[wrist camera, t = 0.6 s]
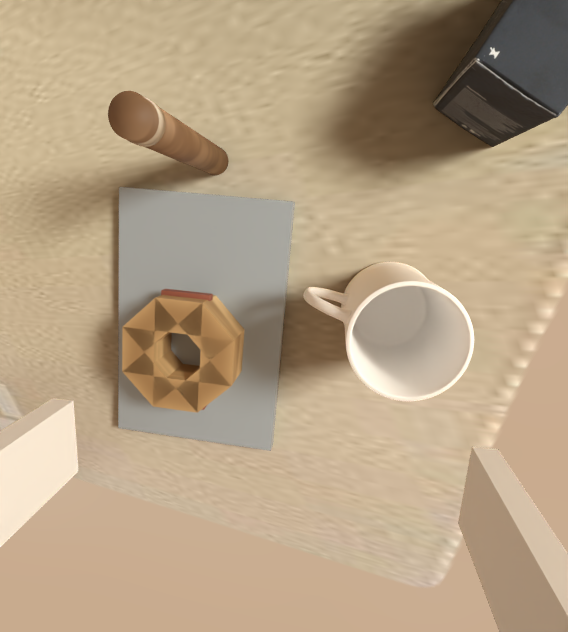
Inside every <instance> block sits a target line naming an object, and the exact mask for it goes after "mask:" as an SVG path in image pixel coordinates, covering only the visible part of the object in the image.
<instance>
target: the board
mask: <svg viewBox="0 0 568 632" xmlns="http://www.w3.org/2000/svg"><path fill="white" fill-rule="evenodd" d="M294 205H295V202H292V201H280V200H268V199H257V198H245V197H233V196H222V195H210V194H198V193H186V192H175V191H163V190H151V189H139V188H128V187H119V375H118V428H121V429H128V430H135V431H141V432H148V433H155V434H161V435H168V436H175V437H182V438H188V439H195V440H202V441H208V442H215V443H222V444H228V445H235V446H242V447H249V448H255V449H262V450H269V451H271V449H272V445H273V436H274V425H275V414H276V403H277V392H278V381H279V370H280V359H281V348H282V337H283V326H284V315H285V304H286V293H287V282H288V271H289V260H290V249H291V238H292V227H293V216H294ZM163 289H174V290H183V291H192V292H201V293H210V294H213V295H216V296H217V297H218V298H219V300H220V301H221V302H222V303H223V304H224V306H225V307H226V308H227V309H228V310H229V311H230V313H231V314H232V315H233V316H234V317H235V319H236V320H237V321H238V322H239V323H240V325H241V326H242V327H243V328H244V329H245V331H244V345H243V359H242V371H241V373H240V374H239V376H238V377H237V379H236V380H235V382H234V383H233V385H232V386H231V387H230V388H229V389H227V390H226V391H225V392H223V393H222V394H221V395H219V396H218V397H217V398H216V399H214V400H213V401H212V402H210V403H209V404H208V405H207V406H206V408H205V409H204V410H200V411H199V412H198V413H196V412H189V411H181V410H174V409H167V408H160V407H153V406H152V405H151V404H150V403H149V401H148V400H147V399H146V398H145V397H144V396H143V395H142V393H141V392H140V391H139V390H138V389H137V388H136V387H135V386H134V384H133V383H132V382H131V381H130V380H129V379H128V378H127V376H126V375H125V374H124V373H123V372H122V328H123V326H124V325H125V324H126V323H127V322H129V321H130V320H131V319H132V318H133V317H134V316H135V315H136V314H137V313H139V312H140V311H141V310H142V309H143V308H144V307H145V306H146V305H148V304H149V303H150V302H151V301H152V300H153V299H154V298H156V297H158V296H161V290H163ZM171 350H172V352H173V353H174V354H175V355H176V356H177V357H178V359H179V360H180V361H181V362H182V363H183V364H189V365H197V366H200V352H201V350H200V349H199V347H198V346H197V345H196V344H195V343H194V342H193V340H192V339H191V338H190V337H189V336H188V335H187V334H179V333H172V339H171Z"/></svg>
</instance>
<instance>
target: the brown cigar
mask: <svg viewBox="0 0 568 632" xmlns="http://www.w3.org/2000/svg"><path fill="white" fill-rule="evenodd" d="M108 118H109V122H110V125H111V127H112V129H113V130H114V132H115V133H116V134H117V135H119V136H120V137H122V138H124V139H127V140H128V141H130V142H132V143H134V144H137V145H139V146H143V147H146V148H149V149H151V150H154V151H156V152H158V153H161V154H163V155H166V156H168V157H171V158H173V159H176V160H178V161H180V162H183V163H185V164H188V165H190V166H193V167H195V168H197V169H200V170H202V171H205V172H207V173H210V174H212V175H219V174H221V173H223V172H224V171H225V170H226V168H227V166H228V156H227V154H226V152H225V151H224V150H223V149H221V148H220V147H218V146H217V145H215V144H214V143H212V142H211V141H209V140H208V139H206V138H205V137H203V136H202V135H200V134H199V133H197V132H196V131H194V130H193V129H191V128H190V127H188V126H187V125H185V124H184V123H182V122H181V121H179V120H178V119H176V118H175V117H173V116H172V115H170V114H168V113H167V112H165V111H164V110H162V109H161V108H159V106H158V105H156V104H155V103H154V102H152V101H151V100H149V99H147V98H146V97H143V96H141V95H140V94H138V93H136V92H133V91H124V92H121V93H119V94H118V95H116V96H115V97H114V98H113V100H112V101H111V103H110V106H109V110H108Z"/></svg>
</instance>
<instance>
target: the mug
mask: <svg viewBox="0 0 568 632" xmlns="http://www.w3.org/2000/svg"><path fill="white" fill-rule="evenodd" d="M319 297H321V298H325V299H330V300H333V301H337V302H339V303H341V308H340V307H338V306H335V305H333V304H331V303H329V302H327V301H325V300H323V299H321V298H319ZM304 299H305V301H306V302H307V303H309V304H310V305H311V306H313V307H314V308H316V309H318V310H319V311H321V312H323V313H325V314H327V315H329V316H332V317H334V318H336V319H338V320H340V321H342V322H343V323H344V326H345V341H346V352H347V356H348V360H349V363H350V365H351V367H352V369H353V371H354V372H355V374H356V375H357V377H358V378H359V379H360V380H361V382H362V383H363V384H364V385H366V386H367V387H368V388H369V389H371V390H372V391H374V392H375V393H377V394H379V395H381V396H384V397H386V398H389V399H393V400H399V401H418V400H424V399H428V398H431V397H433V396H436V395H438V394H440V393H442V392H444V391H445V390H447V389H448V388H450V387H451V386H452V385H453V384H454V383H455V382H456V381H457V380H458V379H459V378H460V377H461V376H462V374H463V373H464V371H465V370H466V368H467V366H468V364H469V362H470V360H471V357H472V353H473V348H474V332H473V327H472V323H471V320H470V318H469V315H468V313H467V312H466V310H465V308H464V307H463V306H462V304H461V303H460V302H459V301H458V300H457V299H456V298H455V297H454V296H453V295H452V294H450V293H449V292H448V291H446V290H445V289H443V288H441V287H440V286H438V285H436V284H435V283H433V282H431V281H430V280H428V279H427V278H426V277H425V276H424V275H423V274H422V273H421V272H420V271H418V270H417V269H415V268H413V267H411V266H409V265H407V264H404V263H399V262H381V263H377V264H374V265H371V266H369V267H367V268H365V269H363V270H362V271H360V272H359V273H358V274H357V275H356V276H355V277H354V278H353V279H352V280H351V281H350V283H349V284H348V286H347V287H346V289H345V292H344V293H340V292H337V291H333V290H329V289H325V288H319V287H308V288H307V289H306V290H305V292H304Z"/></svg>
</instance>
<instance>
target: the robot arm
mask: <svg viewBox="0 0 568 632" xmlns="http://www.w3.org/2000/svg"><path fill="white" fill-rule="evenodd" d="M77 472H78V458H77V444H76V430H75V416H74V402H73V400H65V399H56V398H52V399H50V400H49V401H47V402H46V403H44V404H43V405H41V406H39V407H38V408H36V409H35V410H33V411H31V412H30V413H28V414H27V415H25V416H24V417H22V418H20V419H19V420H17V421H16V422H14V423H12V424H11V425H9V426H8V427H6V428H5V429H3V430H1V431H0V547H1V546H2V545H3V544H4V543H5V542H6V541H7V540H8V539H9V538H10V537H11V536H12V535H13V534H14V533H15V532H16V531H17V530H18V529H19V528H21V527H22V526H23V525H24V524H25V523H26V522H27V521H28V520H29V519H30V518H31V517H32V516H33V515H34V514H35V513H36V512H37V511H38V510H39V509H40V508H41V507H42V506H43V505H44V504H45V503H46V502H47V501H48V500H49V499H50V498H51V497H52V496H53V495H55V494H56V492H58V491H59V490H60V489H61V488H62V487H63V486H64V485H65V484H66V483H67V482H68V481H69V480H70V479H71V478H72V477H73V476H74V475H75V474H76V473H77ZM458 524H459V526H460V529H461V531H462V534H463V537H464V539H465V542H466V545H467V547H468V550H469V552H470V555H471V558H472V560H473V563H474V566H475V569H476V571H477V574H478V576H479V579H480V582H481V584H482V587H483V589H484V592H485V595H486V598H487V600H488V603H489V606H490V608H491V611H492V613H493V616H494V619H495V621H496V624H497V626H498V629H499V632H568V553H567V552H566V550H565V549H564V547H563V546H562V544H561V543H560V541H559V540H558V538H557V537H556V535H555V534H554V532H553V531H552V529H551V528H550V526H549V525H548V523H547V522H546V520H545V519H544V517H543V516H542V514H541V513H540V511H539V510H538V508H537V507H536V505H535V504H534V502H533V501H532V499H531V498H530V496H529V495H528V493H527V492H526V490H525V489H524V487H523V486H522V484H521V483H520V481H519V480H518V478H517V477H516V475H515V474H514V472H513V471H512V469H511V468H510V466H509V465H508V463H507V462H506V461H505V459H504V458H503V456H502V454H501V453H500V451H499V450H498V449H491V448H482V447H473V446H472V449H471V455H470V460H469V466H468V471H467V477H466V483H465V488H464V494H463V499H462V505H461V511H460V516H459V522H458Z"/></svg>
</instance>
